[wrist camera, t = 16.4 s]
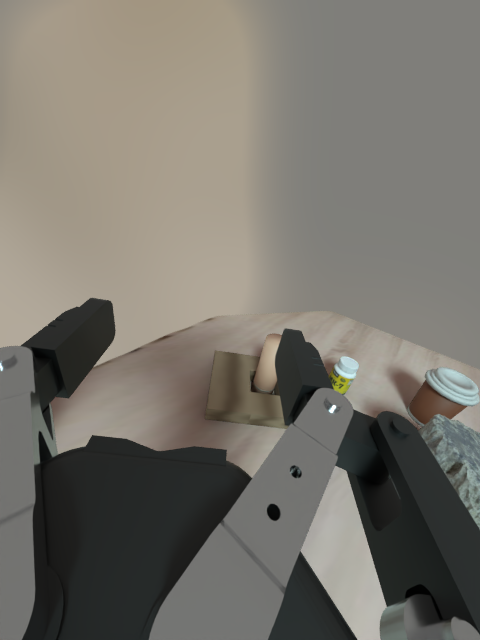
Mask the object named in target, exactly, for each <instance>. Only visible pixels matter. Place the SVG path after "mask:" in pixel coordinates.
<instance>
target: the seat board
mask: <svg viewBox="0 0 480 640" xmlns="http://www.w3.org/2000/svg"><path fill="white" fill-rule="evenodd" d="M259 360H260V357H257V356H250V355H243V354H236V353H229V352H222V351H215V356H214V362H213V369H212V375H211V382H210V388H209V395H208V401H207V408H206V414H205V419H209V420H217V421H226V422H234V423H242V424H251V425H259V426H267V427H276V428H284V429H287V428H288V427H289V426H287V425H285V423H284V417H283V411H282V405H281V399H280V394H279V388H278V382H276V385H275V388H274V393H275V395H270V394H262V393H255V392H250V381H253V380H254V378H255V374H256V371H257V367H258V364H259Z"/></svg>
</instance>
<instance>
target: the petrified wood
mask: <svg viewBox="0 0 480 640" xmlns="http://www.w3.org/2000/svg"><path fill="white" fill-rule="evenodd" d="M418 431H419V433H420V435H421V436H422V438H423V439H424V441H425V442H426V444H427V446H428V447H429V449H430V450H431V452H432V454H433V455H434V457H435V458H436V460H437V462H438V463H439V465H440V466H441V468H442V470H443V471H444V473H445V474H446V476H447V478H448V479H449V481H450V482H451V484H452V486H453V487H454V489H455V490H456V492H457V494H458V495H459V497H460V498H461V500H462V502H463V503H464V505H465V506H466V508H467V510H468V511H469V513H470V514H471V516H472V518H473V519H474V521H475V522H476V524H477V526H478V527H479V529H480V433H478V432H476V431H474V430H473V429H471V428H469V427H467V426H465V425H464V424H463V423H461V422H459V421H458V420H457V421H455V420H453V421H451V420H450V419H448V418H447V417H445V416H442V415H440V414H437V415H434V416H433V418H431V419H430V421H429V422H428V423H427V424H426V425H424V426H423V427H422V428H421V429H420V430H418ZM392 482H393V481H392ZM393 484H394V483H393ZM394 486H395V485H394ZM395 489H396V488H395ZM396 491H397V490H396ZM397 493H398V492H397ZM399 498H400V497H399Z"/></svg>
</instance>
